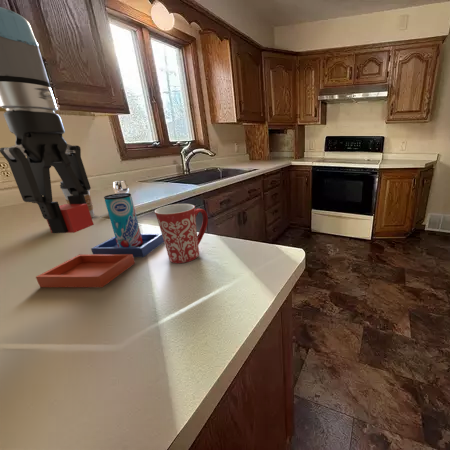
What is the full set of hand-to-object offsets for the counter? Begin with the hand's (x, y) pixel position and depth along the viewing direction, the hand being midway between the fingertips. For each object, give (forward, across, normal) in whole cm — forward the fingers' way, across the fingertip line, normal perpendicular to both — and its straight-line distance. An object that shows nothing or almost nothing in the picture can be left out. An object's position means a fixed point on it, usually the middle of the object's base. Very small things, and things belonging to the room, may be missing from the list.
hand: (72, 227), depth 54 cm
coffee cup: (+11, +44, +39) cm, 59 cm away
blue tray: (+11, +14, -1) cm, 18 cm away
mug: (+12, +10, -20) cm, 25 cm away
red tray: (+11, 0, -1) cm, 12 cm away
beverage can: (+11, +14, -1) cm, 17 cm away
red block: (0, 0, 0) cm, 0 cm away
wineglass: (+11, +60, +34) cm, 70 cm away
